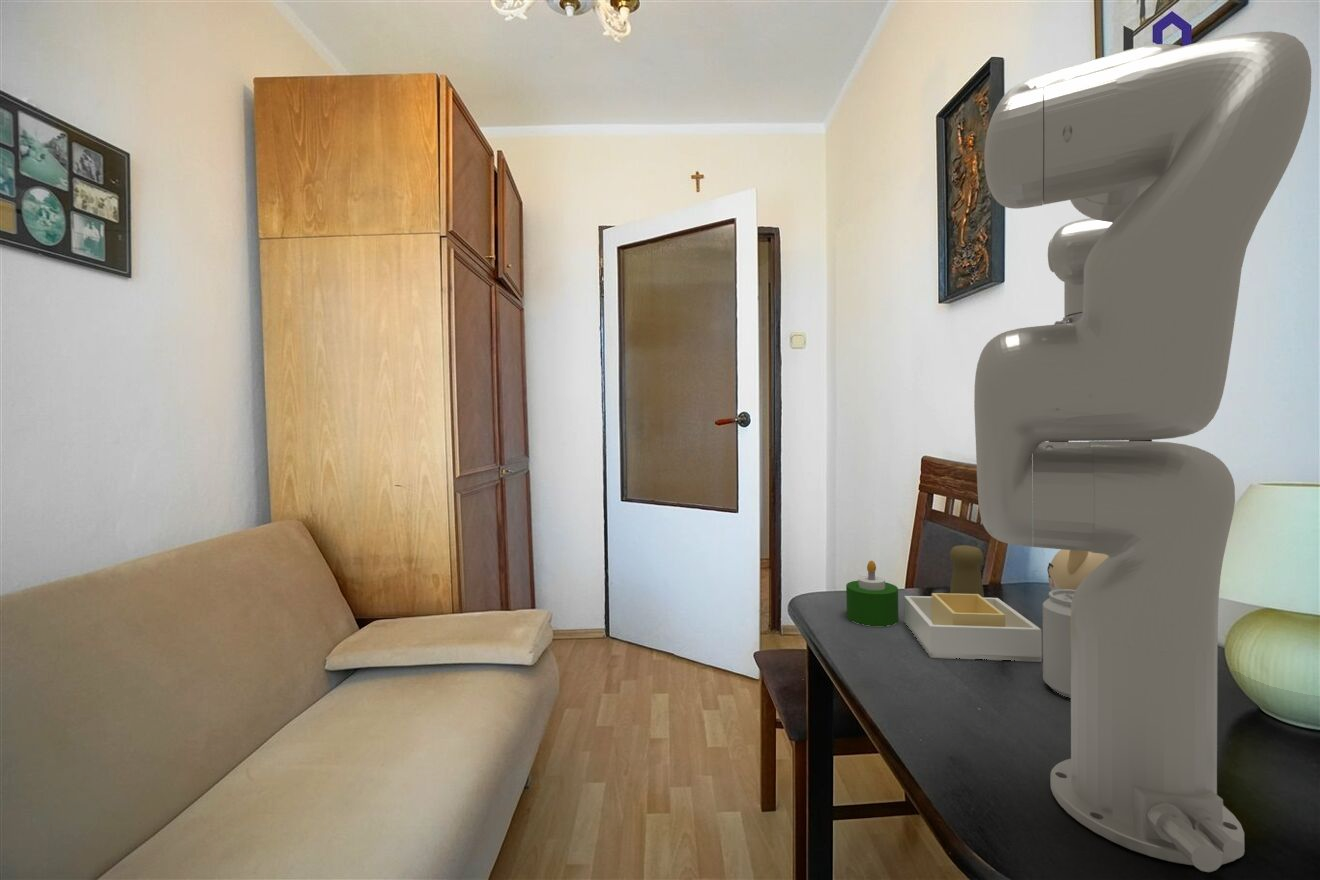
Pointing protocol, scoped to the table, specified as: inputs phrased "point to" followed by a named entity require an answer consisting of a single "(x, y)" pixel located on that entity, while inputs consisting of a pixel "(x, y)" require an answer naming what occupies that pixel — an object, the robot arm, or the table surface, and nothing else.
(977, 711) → the table surface
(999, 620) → the small crate
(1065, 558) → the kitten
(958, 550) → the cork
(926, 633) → the large crate
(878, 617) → the candle
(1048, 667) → the can
